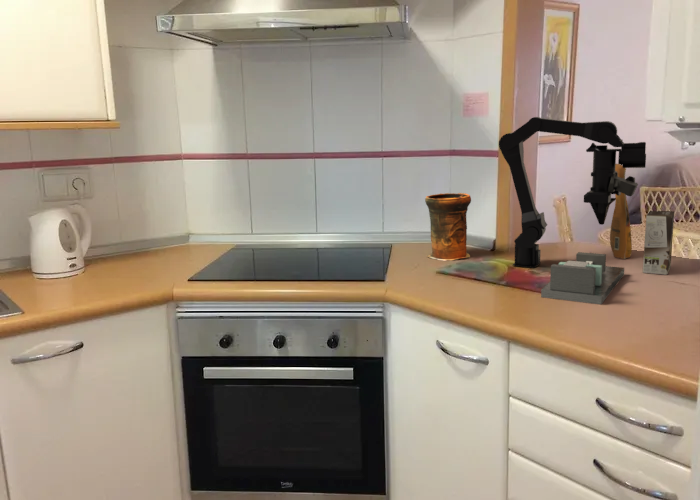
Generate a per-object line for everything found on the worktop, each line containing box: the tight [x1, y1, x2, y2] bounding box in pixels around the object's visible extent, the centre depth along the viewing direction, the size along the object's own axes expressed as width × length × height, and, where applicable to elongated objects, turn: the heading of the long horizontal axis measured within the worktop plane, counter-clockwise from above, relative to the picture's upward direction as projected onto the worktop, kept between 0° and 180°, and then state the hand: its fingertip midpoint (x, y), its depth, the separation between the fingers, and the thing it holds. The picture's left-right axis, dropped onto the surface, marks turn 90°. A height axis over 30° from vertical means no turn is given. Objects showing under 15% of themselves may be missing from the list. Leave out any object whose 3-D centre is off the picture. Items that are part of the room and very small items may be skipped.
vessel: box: [424, 192, 472, 262], centre depth 194 cm, size 14×14×20 cm
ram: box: [557, 251, 607, 286], centre depth 157 cm, size 10×14×5 cm
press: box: [540, 263, 625, 305], centre depth 157 cm, size 14×29×8 cm, turn 147°
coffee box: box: [642, 210, 675, 276], centre depth 167 cm, size 9×6×16 cm
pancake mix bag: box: [609, 163, 633, 260], centre depth 187 cm, size 7×19×28 cm, turn 162°
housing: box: [564, 260, 589, 267], centre depth 149 cm, size 5×5×6 cm
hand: (601, 224), depth 170 cm, fingers closed
